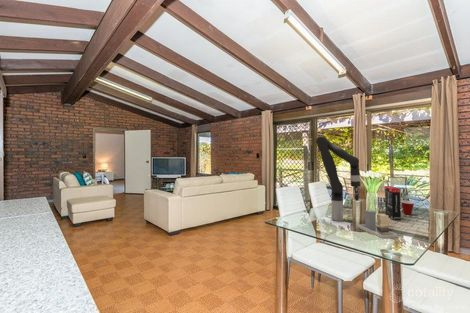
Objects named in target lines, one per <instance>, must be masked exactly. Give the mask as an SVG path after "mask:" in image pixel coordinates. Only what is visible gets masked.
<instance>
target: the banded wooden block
mask: <svg viewBox="0 0 470 313" xmlns="http://www.w3.org/2000/svg"><path fill="white" fill-rule="evenodd" d="M389 220H390V219H389V216H388V215H386V213H378V214H376V226H377V233H378V234H381V235H389V231H390V226H389V225H390V224H389V223H390V221H389Z"/></svg>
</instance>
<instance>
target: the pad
mask: <svg viewBox="0 0 470 313" xmlns="http://www.w3.org/2000/svg"><path fill="white" fill-rule="evenodd" d="M351 234H352V235H354V236H356V237H357V238H359V239H360V240H362V241H365V242H367V241H379V240H380V241H381V238H379V237H377V236H375V235H373V234H371V233H369V232H367V231H363V232H362V231H361V232H351Z"/></svg>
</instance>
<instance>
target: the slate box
mask: <svg viewBox="0 0 470 313" xmlns="http://www.w3.org/2000/svg"><path fill="white" fill-rule="evenodd" d="M376 213H377V212H376V211H375V210H373V209H365V210H364V224H365V228H367V229H370V230H376V226H377V214H376Z"/></svg>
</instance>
